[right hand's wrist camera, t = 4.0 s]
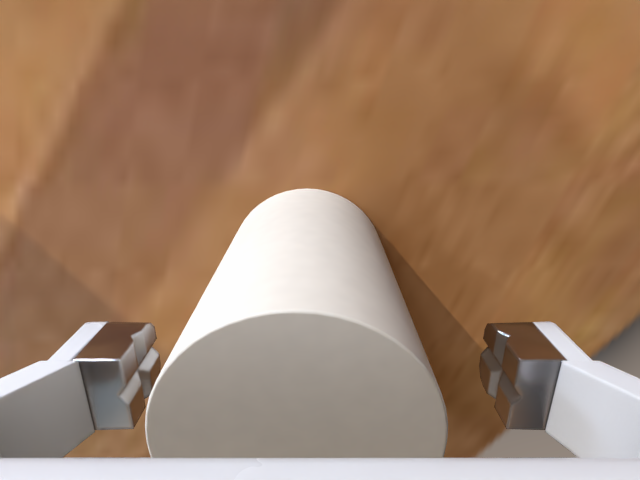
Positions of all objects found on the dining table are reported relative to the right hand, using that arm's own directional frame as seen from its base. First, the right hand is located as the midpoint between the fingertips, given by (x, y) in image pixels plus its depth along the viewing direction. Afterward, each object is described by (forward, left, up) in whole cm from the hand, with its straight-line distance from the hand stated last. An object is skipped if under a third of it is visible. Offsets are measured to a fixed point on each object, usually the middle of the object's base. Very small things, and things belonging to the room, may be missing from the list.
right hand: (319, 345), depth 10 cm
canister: (0, 0, -5) cm, 5 cm away
